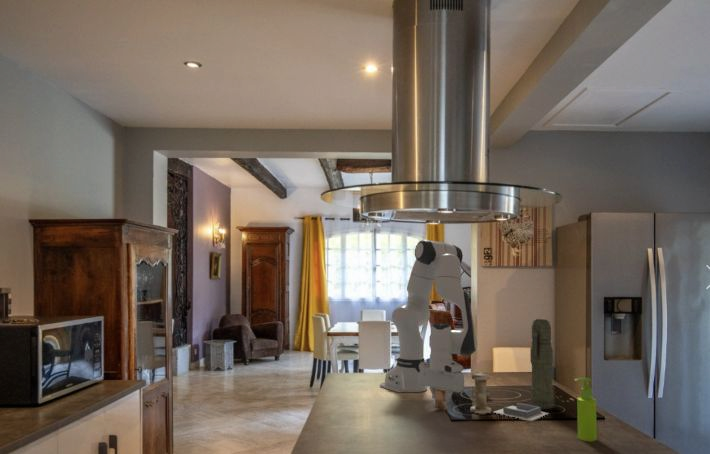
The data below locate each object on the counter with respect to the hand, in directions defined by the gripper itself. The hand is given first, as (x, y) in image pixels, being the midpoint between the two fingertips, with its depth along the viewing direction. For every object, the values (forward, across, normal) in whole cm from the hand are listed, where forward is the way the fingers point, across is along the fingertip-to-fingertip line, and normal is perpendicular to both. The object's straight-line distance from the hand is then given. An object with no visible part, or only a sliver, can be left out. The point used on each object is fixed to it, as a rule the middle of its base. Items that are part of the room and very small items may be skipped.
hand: (440, 399), depth 234 cm
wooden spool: (+4, +12, +10) cm, 16 cm away
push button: (+4, -2, +32) cm, 33 cm away
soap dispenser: (+4, +56, +5) cm, 57 cm away
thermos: (+4, +25, +35) cm, 43 cm away
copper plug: (+3, 0, 0) cm, 3 cm away
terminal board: (+4, +25, +18) cm, 31 cm away
